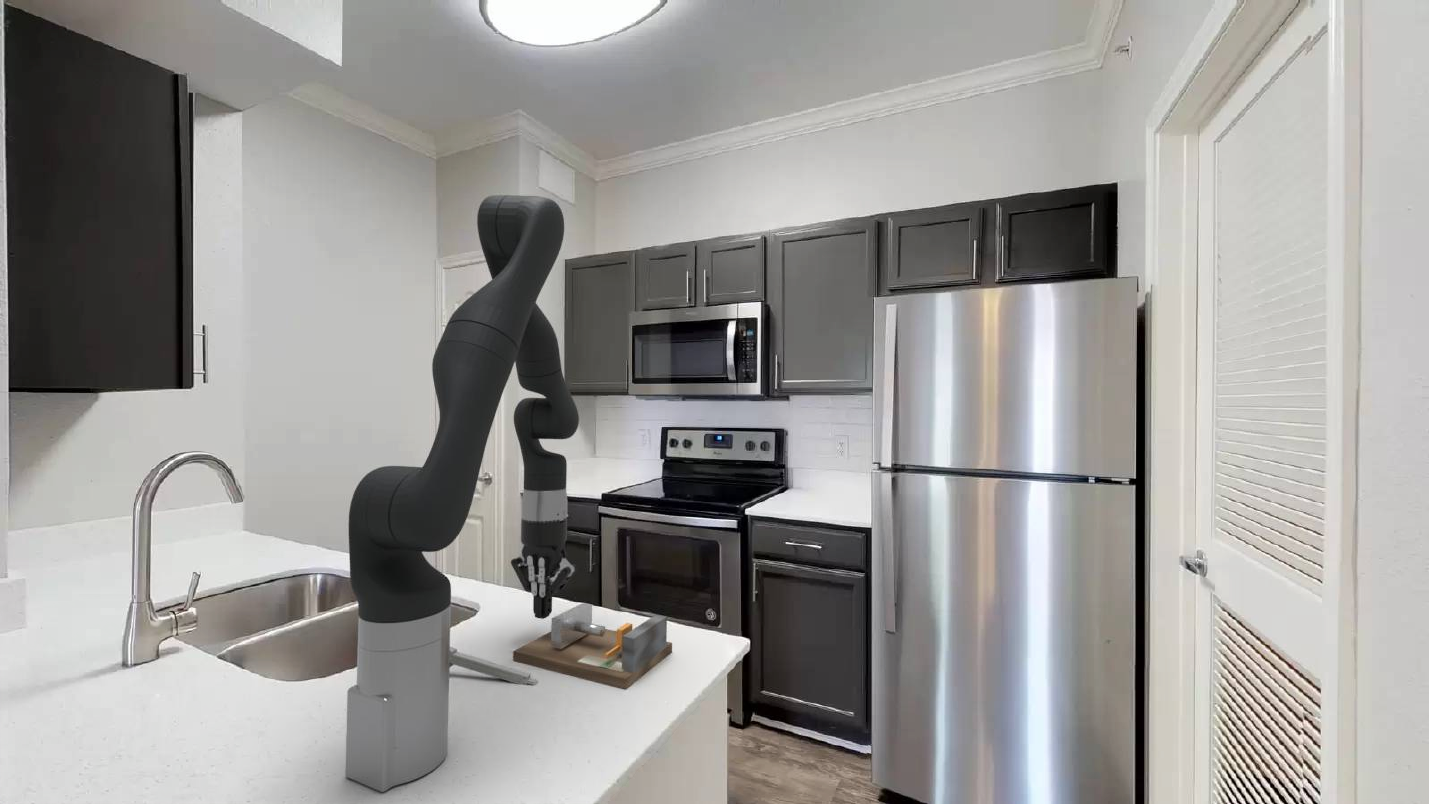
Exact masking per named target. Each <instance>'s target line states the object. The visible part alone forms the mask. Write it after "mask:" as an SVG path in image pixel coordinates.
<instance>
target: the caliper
mask: <svg viewBox="0 0 1429 804" xmlns="http://www.w3.org/2000/svg"><path fill="white" fill-rule="evenodd" d="M453 666H457V667H460V668H463V669H468V670H471V671H474V672H478V673H481V674H483V675H487V676H490V677H494V678H497V679H500V680H503V681H505V682H509V683H513V684H515V685H531V686H536V685H537V684H538V682H539V680H538V679H537V678H533V677H532V676H531V675H532V674H531V673H529V672H526V671H522V670H519V669H516V668H512V667H509V666H506V665H502V664H500V663H495V662H492V661H489V660H485V659H482V658H480V657H476V656H472V655H469V654H466V653H462V652H459V651H458V648H455V647H452V646H450V659H449V669H450V668H452V667H453Z"/></svg>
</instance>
